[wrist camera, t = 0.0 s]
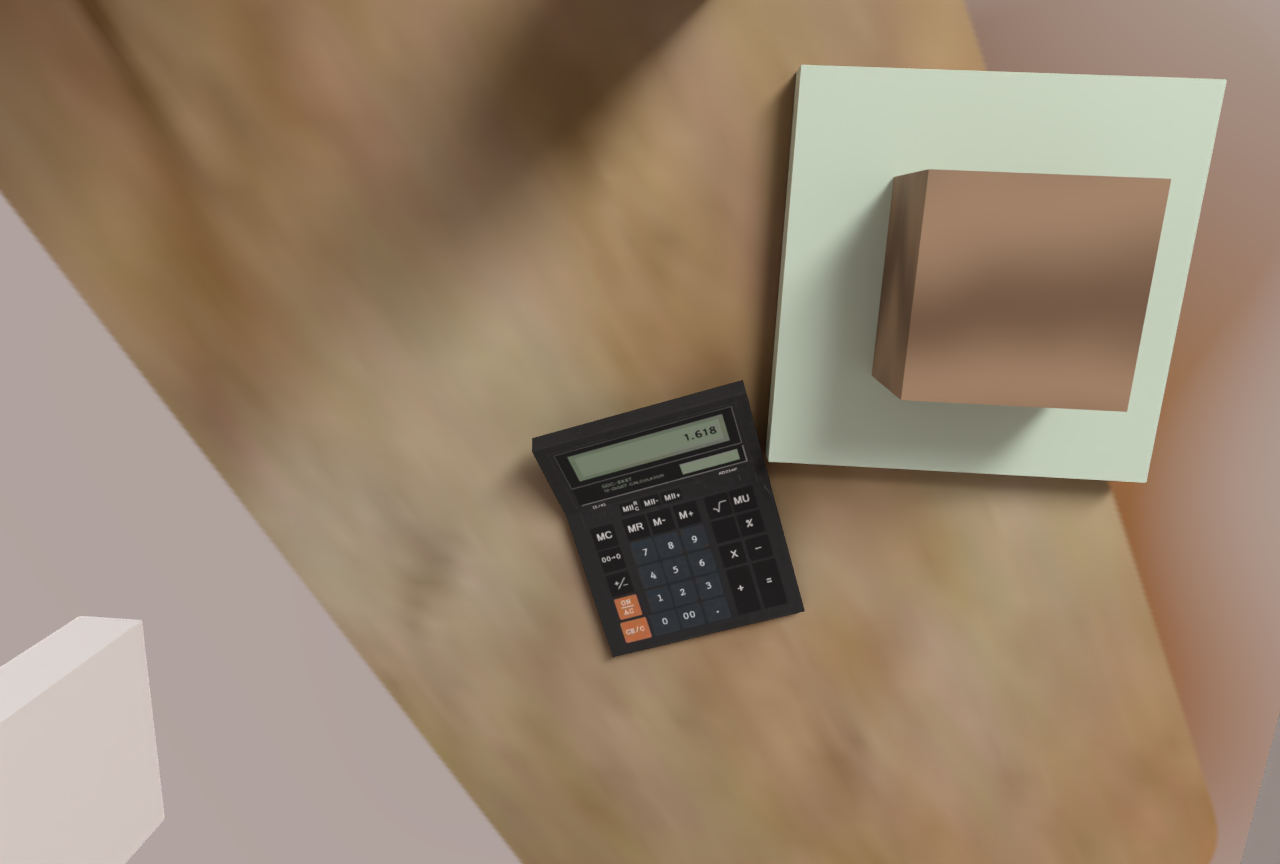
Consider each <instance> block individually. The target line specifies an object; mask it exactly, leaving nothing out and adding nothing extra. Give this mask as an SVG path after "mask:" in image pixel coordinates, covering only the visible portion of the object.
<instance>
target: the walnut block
mask: <svg viewBox="0 0 1280 864" xmlns="http://www.w3.org/2000/svg"><path fill="white" fill-rule="evenodd" d="M1170 184H1171V179H1164V178H1139V177H1114V176H1089V175H1063V174H1038V173H1013V172H988V171H962V170H937V169H927V170H923V171H918V172H914V173H909V174H905V175H900V176H896V177H894V180H893V189H892V198H891V207H890V216H889V225H888V234H887V243H886V252H885V260H884V269H883V278H882V287H881V296H880V305H879V314H878V323H877V332H876V341H875V350H874V359H873V368H872V376H873V377H874V378H875V379H876V380H877V381H879V382H880V383H881V384H882V385H883V386H885V387H886V388H887V389H888V390H889V391H891V392H892V393H893V394H894V395H895V396H897V397H898V398H899V399H900V400H907V401H926V402H945V403H965V404H984V405H1003V406H1022V407H1042V408H1061V409H1080V410H1099V411H1119V412H1127V410H1128V404H1129V399H1130V394H1131V389H1132V383H1133V378H1134V373H1135V368H1136V362H1137V357H1138V352H1139V346H1140V341H1141V336H1142V331H1143V325H1144V320H1145V315H1146V310H1147V304H1148V299H1149V294H1150V289H1151V283H1152V278H1153V273H1154V268H1155V262H1156V257H1157V252H1158V247H1159V241H1160V236H1161V231H1162V226H1163V220H1164V215H1165V210H1166V205H1167V199H1168V194H1169V189H1170Z"/></svg>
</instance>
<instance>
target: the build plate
mask: <svg viewBox="0 0 1280 864" xmlns="http://www.w3.org/2000/svg"><path fill="white" fill-rule="evenodd" d="M1226 81H1227V80H1226V79H1199V78H1198V79H1196V78H1170V77H1139V76H1111V75H1082V74H1080V75H1079V74H1052V73H1022V72H993V71H966V70H936V69H907V68H878V67H849V66H820V65H801V66H800V67H799V69H798V70H797V72H796V84H795V96H794V109H793V121H792V133H791V145H790V157H789V170H788V182H787V194H786V206H785V219H784V231H783V243H782V255H781V268H780V280H779V292H778V304H777V317H776V329H775V341H774V353H773V366H772V378H771V390H770V402H769V415H768V427H767V439H766V451H765V453H766V456H767V459H768V462H784V463H802V464H820V465H838V466H856V467H874V468H892V469H910V470H928V471H946V472H964V473H982V474H1000V475H1018V476H1036V477H1054V478H1072V479H1090V480H1108V481H1126V482H1127V481H1128V482H1146V481H1147V475H1148V470H1149V465H1150V461H1151V456H1152V451H1153V446H1154V441H1155V436H1156V430H1157V425H1158V420H1159V416H1160V410H1161V405H1162V401H1163V396H1164V391H1165V386H1166V380H1167V375H1168V371H1169V365H1170V360H1171V355H1172V351H1173V346H1174V340H1175V335H1176V331H1177V326H1178V321H1179V316H1180V310H1181V306H1182V300H1183V295H1184V291H1185V286H1186V281H1187V276H1188V271H1189V266H1190V261H1191V256H1192V251H1193V246H1194V241H1195V236H1196V231H1197V226H1198V220H1199V216H1200V211H1201V206H1202V201H1203V196H1204V191H1205V186H1206V181H1207V176H1208V171H1209V166H1210V161H1211V156H1212V151H1213V146H1214V141H1215V135H1216V131H1217V126H1218V121H1219V116H1220V110H1221V106H1222V101H1223V96H1224V91H1225V86H1226ZM927 169H937V170H962V171H988V172H1013V173H1038V174H1063V175H1089V176H1114V177H1139V178H1164V179H1171V184H1170V189H1169V194H1168V199H1167V205H1166V210H1165V215H1164V220H1163V226H1162V231H1161V236H1160V241H1159V247H1158V252H1157V257H1156V262H1155V268H1154V273H1153V278H1152V283H1151V289H1150V294H1149V299H1148V304H1147V310H1146V315H1145V320H1144V325H1143V331H1142V336H1141V341H1140V346H1139V352H1138V357H1137V362H1136V368H1135V373H1134V378H1133V383H1132V389H1131V394H1130V399H1129V404H1128V410H1127V412H1119V411H1099V410H1080V409H1061V408H1042V407H1022V406H1003V405H984V404H965V403H945V402H926V401H907V400H900V399H899V398H898V397H897V396H895V395H894V394H893V393H892V392H891V391H889V390H888V389H887V388H886V387H885V386H883V385H882V384H881V383H880V382H879V381H877V380H876V379H875V378H874V377H873V376H872V368H873V359H874V350H875V341H876V332H877V323H878V314H879V305H880V296H881V287H882V278H883V269H884V260H885V252H886V243H887V234H888V225H889V216H890V207H891V198H892V189H893V180H894V177H896V176H900V175H905V174H909V173H914V172H918V171H923V170H927Z"/></svg>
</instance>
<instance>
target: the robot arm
mask: <svg viewBox="0 0 1280 864" xmlns="http://www.w3.org/2000/svg"><path fill="white" fill-rule="evenodd" d="M164 819H165V816H164V808H163V799H162V791H161V781H160V773H159V764H158V756H157V748H156V739H155V730H154V721H153V712H152V704H151V695H150V687H149V678H148V669H147V660H146V652H145V643H144V635H143V626H142V620H132V619H116V618H101V617H86V616H79V617H77V618H76V619H74V620H73V621H71V622H69V623H68V624H66V625H65V626H63V627H62V628H60V629H59V630H57V631H55V632H54V633H52V634H51V635H49V636H48V637H46V638H45V639H43V640H41V641H40V642H39V643H37V644H35V645H34V646H32V647H31V648H29V649H28V650H26V651H25V652H23V653H22V654H20V655H19V656H17V657H15V658H14V659H12V660H11V661H9V662H7V663H6V664H5V665H3V666H1V667H0V864H125V863H126V862H127V861H128V860H129V859H130V858H131V857H132V855H133V854H134V853H135V852H136V851H137V850H138V849H139V848H140V846H141V845H142V844H143V843H144V842H145V841H146V840H147V838H148V837H149V836H150V835H151V834H152V833H153V832H154V830H155V829H156V828H157V827H158V826H159V825H160V824H161V822H162V821H163V820H164ZM1241 864H1280V714H1279V718H1278V722H1277V725H1276V730H1275V733H1274V738H1273V741H1272V745H1271V749H1270V752H1269V756H1268V760H1267V764H1266V768H1265V772H1264V776H1263V779H1262V783H1261V787H1260V791H1259V795H1258V799H1257V802H1256V806H1255V810H1254V814H1253V818H1252V822H1251V826H1250V829H1249V833H1248V837H1247V841H1246V845H1245V849H1244V852H1243V857H1242V861H1241Z"/></svg>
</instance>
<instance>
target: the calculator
mask: <svg viewBox="0 0 1280 864" xmlns="http://www.w3.org/2000/svg"><path fill="white" fill-rule="evenodd" d="M532 452H533V454H534V456H535V458H536V460H537V462H538V464H539V466H540V467H541V469H542V471H543V473H544V475H545V477H546V479H547V481H548V482H549V484H550V486H551V488H552V490H553V492H554V494H555V496H556V497H557V499H558V501H559V503H560V505H561V507H562V509H563V511H564V513H565V514H566V516H567V519H568V522H569V525H570V528H571V531H572V534H573V538H574V541H575V544H576V547H577V550H578V553H579V556H580V559H581V562H582V565H583V568H584V571H585V574H586V577H587V580H588V583H589V586H590V589H591V592H592V595H593V598H594V601H595V604H596V607H597V610H598V613H599V616H600V619H601V622H602V625H603V628H604V631H605V634H606V637H607V640H608V643H609V646H610V649H611V652H612V655H613V657H615V656H619V655H623V654H628V653H632V652H636V651H640V650H644V649H649V648H653V647H657V646H661V645H665V644H669V643H674V642H678V641H682V640H686V639H690V638H694V637H699V636H703V635H707V634H711V633H715V632H720V631H724V630H728V629H732V628H736V627H740V626H745V625H749V624H753V623H757V622H761V621H766V620H770V619H774V618H778V617H782V616H786V615H791V614H795V613H799V612H803V611H805V610H804V607H803V603H802V599H801V596H800V592H799V588H798V585H797V581H796V577H795V574H794V570H793V566H792V562H791V559H790V555H789V551H788V548H787V544H786V540H785V537H784V533H783V529H782V525H781V522H780V518H779V514H778V511H777V507H776V503H775V500H774V496H773V492H772V488H771V485H770V481H769V477H768V474H767V470H766V466H765V463H764V459H763V455H762V451H761V447H760V443H759V440H758V436H757V432H756V428H755V424H754V421H753V417H752V413H751V409H750V405H749V401H748V398H747V394H746V390H745V387H744V383H743V380H741V381H738V382H734V383H731V384H727V385H723V386H720V387H716V388H713V389H709V390H705V391H702V392H698V393H694V394H691V395H687V396H684V397H680V398H676V399H673V400H669V401H666V402H662V403H658V404H655V405H651V406H647V407H644V408H640V409H637V410H633V411H629V412H626V413H622V414H619V415H615V416H611V417H608V418H604V419H600V420H597V421H593V422H590V423H586V424H582V425H579V426H575V427H572V428H568V429H564V430H561V431H557V432H554V433H550V434H546V435H543V436H539V437H535V438H532Z"/></svg>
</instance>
